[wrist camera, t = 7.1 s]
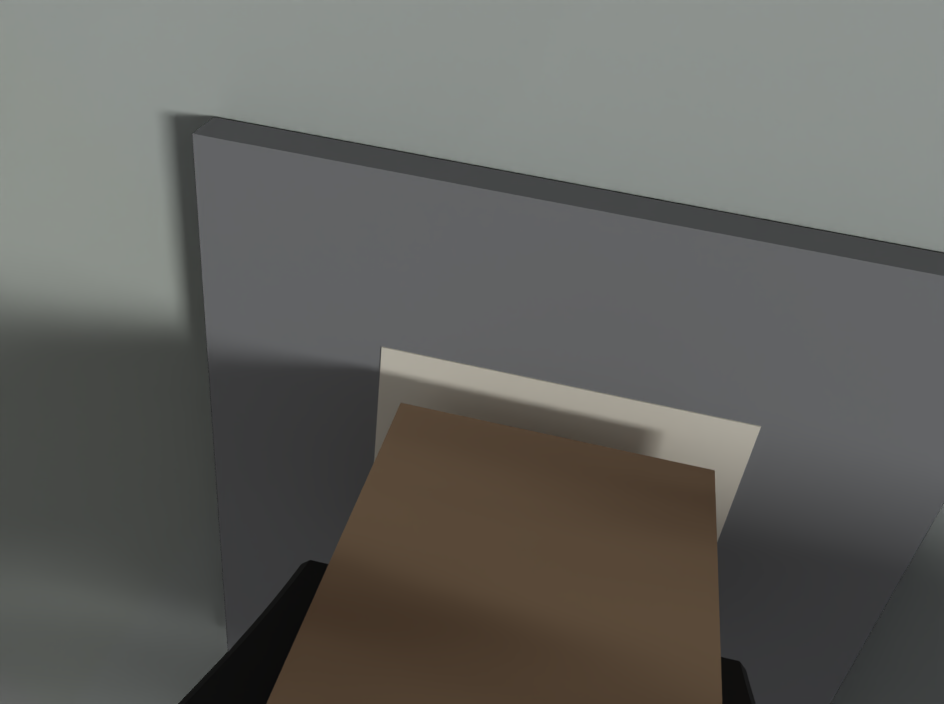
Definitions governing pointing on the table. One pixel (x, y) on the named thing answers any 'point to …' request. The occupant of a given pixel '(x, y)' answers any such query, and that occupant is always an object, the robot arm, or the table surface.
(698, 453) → the pad
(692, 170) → the table surface
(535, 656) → the block
